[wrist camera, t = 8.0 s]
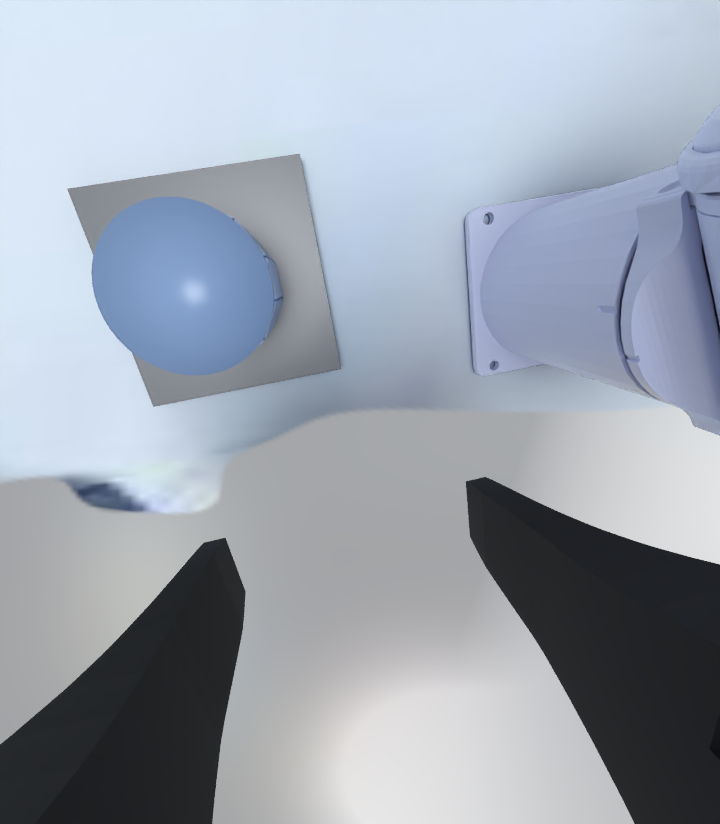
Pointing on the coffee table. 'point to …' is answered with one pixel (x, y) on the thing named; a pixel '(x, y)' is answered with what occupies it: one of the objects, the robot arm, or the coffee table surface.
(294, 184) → the plate
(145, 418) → the coffee table surface
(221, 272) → the cap
